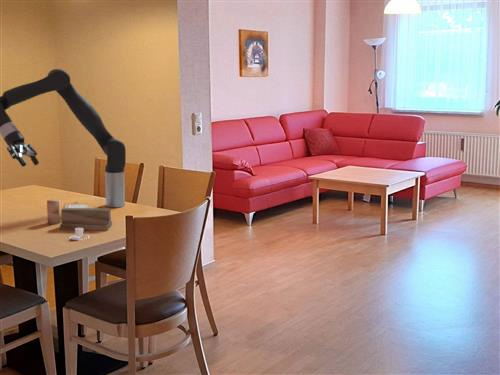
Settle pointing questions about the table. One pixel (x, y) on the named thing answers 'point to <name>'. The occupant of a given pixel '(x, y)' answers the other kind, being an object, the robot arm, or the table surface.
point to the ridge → (86, 218)
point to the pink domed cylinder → (53, 211)
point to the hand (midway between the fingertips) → (31, 164)
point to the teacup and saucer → (78, 234)
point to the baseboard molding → (75, 206)
